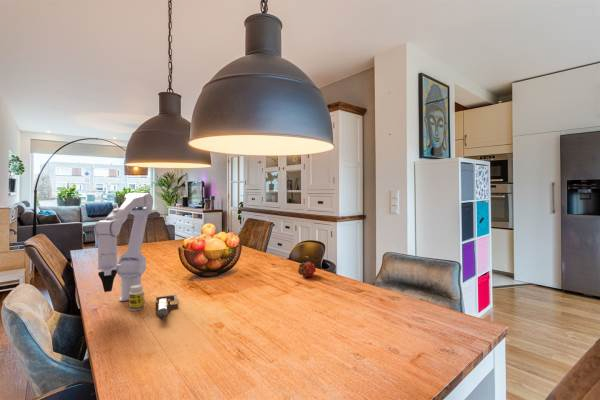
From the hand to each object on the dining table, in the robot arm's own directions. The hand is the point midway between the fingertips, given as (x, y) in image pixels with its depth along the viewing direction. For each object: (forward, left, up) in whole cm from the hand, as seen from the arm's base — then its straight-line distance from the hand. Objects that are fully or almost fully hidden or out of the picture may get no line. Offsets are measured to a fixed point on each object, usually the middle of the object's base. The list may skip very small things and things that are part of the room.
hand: (107, 291), depth 109 cm
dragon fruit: (-14, +86, -8) cm, 88 cm away
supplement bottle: (0, +9, -8) cm, 12 cm away
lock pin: (+12, +18, -6) cm, 22 cm away
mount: (+1, +19, -8) cm, 21 cm away
